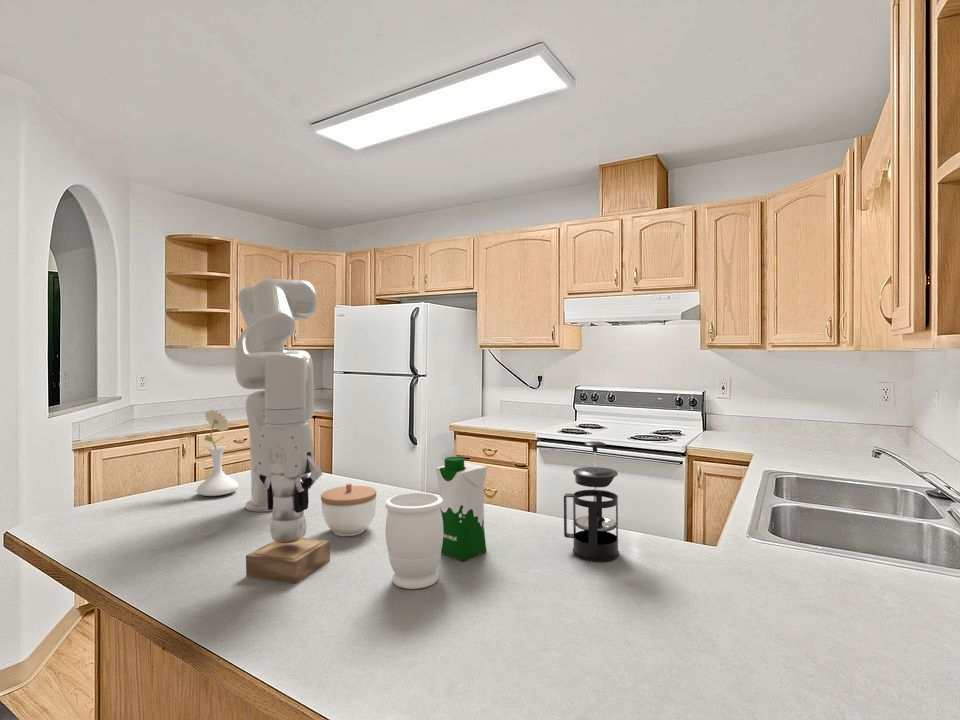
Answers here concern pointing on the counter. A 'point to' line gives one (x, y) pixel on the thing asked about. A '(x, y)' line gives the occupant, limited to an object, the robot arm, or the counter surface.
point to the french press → (594, 514)
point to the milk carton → (462, 508)
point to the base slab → (288, 560)
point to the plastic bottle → (285, 508)
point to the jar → (414, 538)
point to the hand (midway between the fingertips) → (288, 508)
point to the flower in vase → (217, 461)
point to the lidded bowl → (348, 509)
